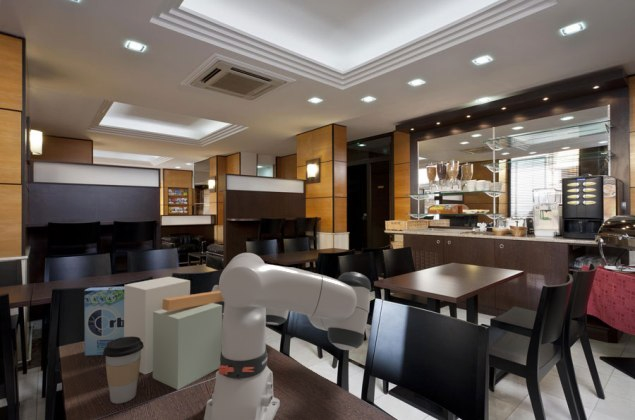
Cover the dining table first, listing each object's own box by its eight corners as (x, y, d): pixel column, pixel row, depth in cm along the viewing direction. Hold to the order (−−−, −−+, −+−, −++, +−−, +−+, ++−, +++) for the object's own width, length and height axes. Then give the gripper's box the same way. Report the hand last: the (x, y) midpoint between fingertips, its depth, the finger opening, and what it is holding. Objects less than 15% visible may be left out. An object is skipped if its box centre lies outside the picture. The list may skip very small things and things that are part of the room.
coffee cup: (117, 387, 94) (117, 334, 94) (150, 388, 94) (150, 335, 94) (94, 407, 84) (94, 349, 84) (130, 408, 84) (130, 349, 84)
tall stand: (168, 347, 121) (168, 276, 121) (189, 355, 115) (190, 280, 115) (123, 364, 108) (124, 284, 108) (144, 374, 101) (145, 289, 101)
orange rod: (228, 297, 119) (229, 289, 119) (234, 298, 117) (235, 290, 118) (162, 309, 97) (163, 298, 97) (168, 311, 95) (169, 300, 96)
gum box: (148, 347, 121) (149, 285, 121) (143, 353, 116) (144, 288, 116) (91, 350, 118) (91, 286, 118) (83, 356, 113) (83, 289, 113)
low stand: (196, 357, 113) (197, 299, 113) (221, 367, 107) (222, 305, 107) (152, 378, 99) (153, 311, 99) (177, 389, 93) (178, 319, 93)
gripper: (264, 313, 118) (240, 301, 107) (224, 304, 128) (198, 293, 118) (270, 296, 120) (247, 283, 110) (230, 288, 131) (206, 276, 121)
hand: (221, 288), depth 114 cm, fingers closed on orange rod, 3 cm apart
